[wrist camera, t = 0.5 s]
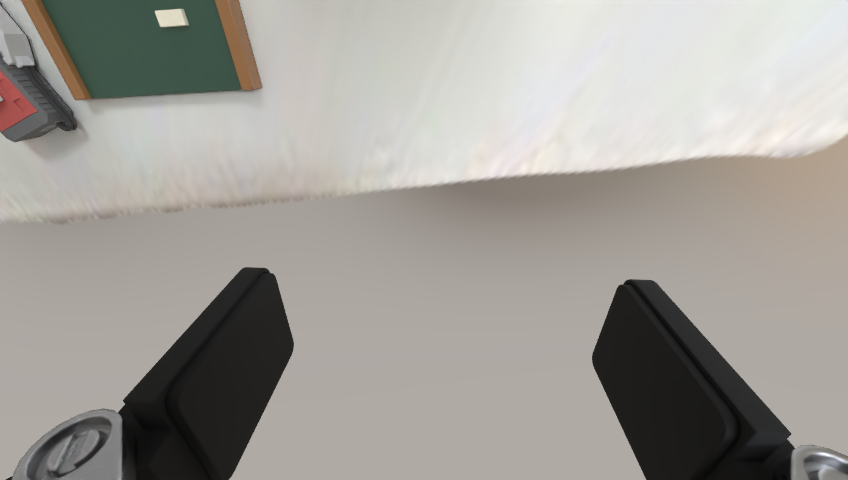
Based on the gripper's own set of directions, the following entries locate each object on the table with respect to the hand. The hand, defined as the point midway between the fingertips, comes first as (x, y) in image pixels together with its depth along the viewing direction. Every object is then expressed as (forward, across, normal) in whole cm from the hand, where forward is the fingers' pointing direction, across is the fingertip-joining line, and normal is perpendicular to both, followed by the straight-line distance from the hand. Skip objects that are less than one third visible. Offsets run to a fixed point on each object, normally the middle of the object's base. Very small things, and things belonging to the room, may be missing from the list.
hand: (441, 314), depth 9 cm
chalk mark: (+27, +24, -9) cm, 37 cm away
